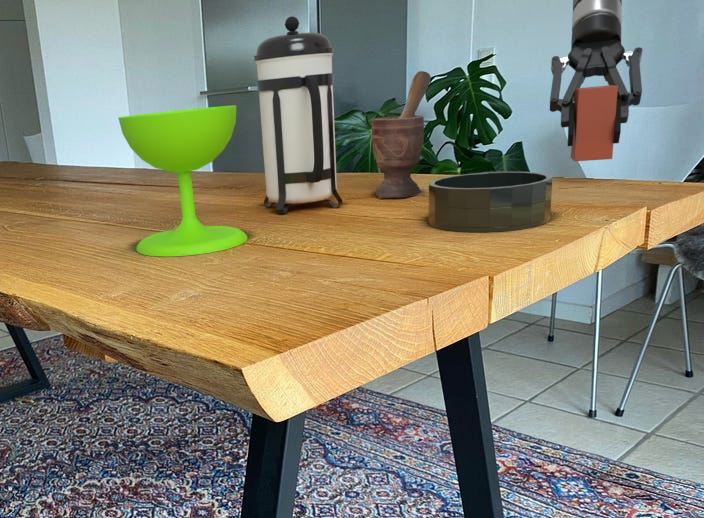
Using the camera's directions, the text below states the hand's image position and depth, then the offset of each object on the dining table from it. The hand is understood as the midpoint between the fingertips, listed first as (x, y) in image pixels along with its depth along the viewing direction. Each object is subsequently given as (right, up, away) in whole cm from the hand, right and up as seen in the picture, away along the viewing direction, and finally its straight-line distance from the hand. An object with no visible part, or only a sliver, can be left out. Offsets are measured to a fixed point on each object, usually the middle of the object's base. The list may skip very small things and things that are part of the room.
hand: (593, 138), depth 116 cm
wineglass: (-63, -18, -11) cm, 66 cm away
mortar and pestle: (-27, -6, +14) cm, 31 cm away
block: (+2, -2, +4) cm, 5 cm away
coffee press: (-44, -9, +10) cm, 46 cm away
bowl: (-22, -16, -16) cm, 32 cm away
